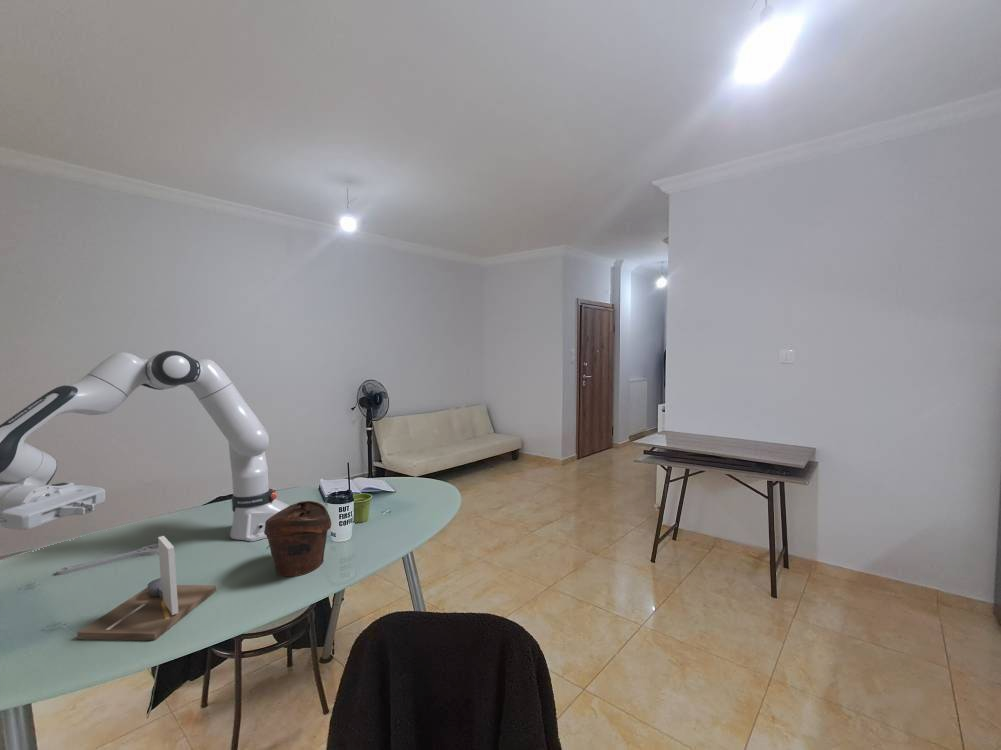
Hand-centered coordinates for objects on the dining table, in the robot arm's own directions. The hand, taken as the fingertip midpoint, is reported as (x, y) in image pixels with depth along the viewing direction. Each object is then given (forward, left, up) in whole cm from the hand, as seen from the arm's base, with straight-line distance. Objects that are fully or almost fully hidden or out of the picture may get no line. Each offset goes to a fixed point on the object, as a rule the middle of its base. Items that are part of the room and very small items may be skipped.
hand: (89, 509), depth 108 cm
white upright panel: (-15, +6, -24) cm, 29 cm away
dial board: (-12, +7, -26) cm, 30 cm away
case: (-46, -2, -26) cm, 53 cm away
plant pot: (-68, -29, -26) cm, 78 cm away
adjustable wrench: (+5, -34, -27) cm, 43 cm away
